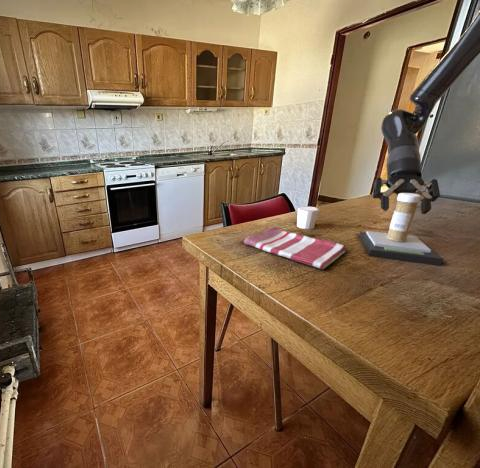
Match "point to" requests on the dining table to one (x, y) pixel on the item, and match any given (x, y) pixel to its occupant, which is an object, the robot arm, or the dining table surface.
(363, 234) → the scale
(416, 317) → the dining table surface
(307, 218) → the white cup
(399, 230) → the sprinkles bottle
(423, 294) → the dining table surface
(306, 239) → the dish towel
